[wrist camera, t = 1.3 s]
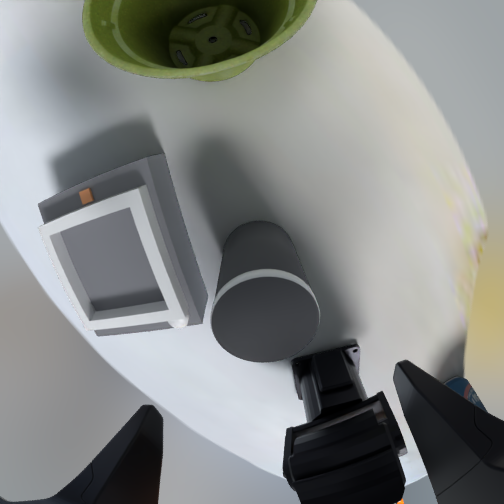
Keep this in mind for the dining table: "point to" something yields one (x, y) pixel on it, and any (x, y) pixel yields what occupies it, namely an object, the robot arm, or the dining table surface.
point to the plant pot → (190, 34)
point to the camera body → (125, 251)
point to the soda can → (464, 390)
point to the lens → (263, 296)
